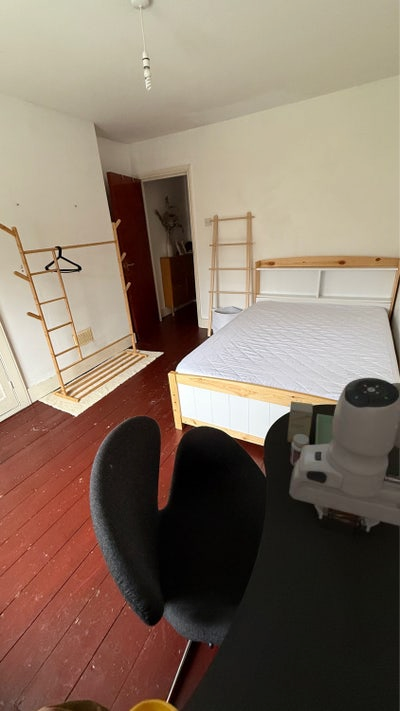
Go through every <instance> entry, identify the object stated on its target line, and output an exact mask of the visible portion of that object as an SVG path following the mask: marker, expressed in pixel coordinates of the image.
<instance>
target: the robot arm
mask: <svg viewBox="0 0 400 711" xmlns="http://www.w3.org/2000/svg"><path fill="white" fill-rule="evenodd" d="M333 416H334V417H333V423H332V435H333V439H332V440H331V442H330V443H329V444H321V445H315V444H309V445H305V446H303V448H302V450H301V454H300V458H299V459H298V460H297V461H296V463H295V465H293V467H292V468H293V469H292V472H291V477H290V482H289V491H288V494H289V496H290V497H291V498H292V499H293V500H295V501H301V502H304V503H308V504H312V505H314V508H315V510H316V511H317V513H318V512H319V515H318V519H319V520H320V519H323V520H327V518H328V508H331V509H335V510H339V511H343V512H347V513H351V514H355V515H358V516H360V520H359V521H360V524H361V525H360V527H358V528H359V530H360V531H364V532H367V533H369V532H370V530H371V528H372V527H374V526H376V525H379V524H380V522H382V523H386V524H390V525H394V526H397V527H400V476H396V475H393V474H392V475H391V474H388V473H387V471H388V466H389V453H390V452H391V451H392V450H393V448H396V449H398V450H399V451H400V382H394V383H393V382H392V383H391V382H389V381H387V380H385V379H381V378H377V377H361V378H357V379H354V380H351V381H350V382H349V383H347V384H346V385H345V386H344V388H343V389H342V391H341V393H340V395H339V397H338V399H337V402H336V405H335V409H334V413H333Z"/></svg>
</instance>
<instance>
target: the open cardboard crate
mask: <svg viewBox="0 0 400 711" xmlns="http://www.w3.org/2000/svg"><path fill="white" fill-rule="evenodd" d="M317 515H318V516H319V512H318V511H317ZM328 519H329V520H331V521H334V522H338V523H342V524H346V525H349V526H353V527H354V528H359V527H360V525H361V524H360V521H359V520H360V516H358V515H355V514H351V513H347V512H343V511H339V510H335V509H331V508H328Z"/></svg>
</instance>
